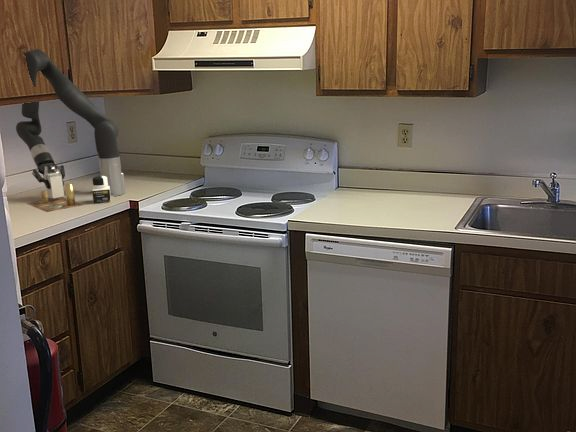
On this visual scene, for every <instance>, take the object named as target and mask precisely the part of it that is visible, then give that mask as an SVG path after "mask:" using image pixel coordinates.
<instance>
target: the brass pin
mask: <svg viewBox="0 0 576 432" xmlns="http://www.w3.org/2000/svg"><path fill="white" fill-rule="evenodd" d="M64 187H65V188H64V189H65V196H66V197H65V198H67V205H68V206H74V205H76V204H75V202H76V199H75V198H76V197H75V189H74V183H72V182H71V183H69V182H68V183H64Z"/></svg>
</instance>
